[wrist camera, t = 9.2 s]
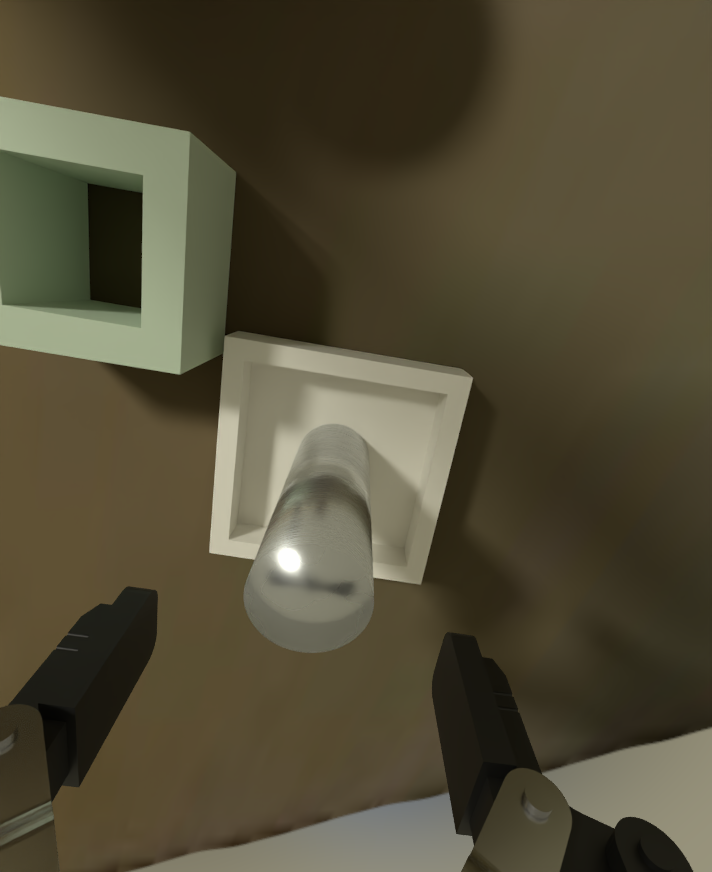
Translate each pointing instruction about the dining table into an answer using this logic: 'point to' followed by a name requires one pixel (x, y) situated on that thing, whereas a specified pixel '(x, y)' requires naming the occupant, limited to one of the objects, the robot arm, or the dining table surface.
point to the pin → (317, 548)
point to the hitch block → (69, 238)
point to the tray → (346, 405)
